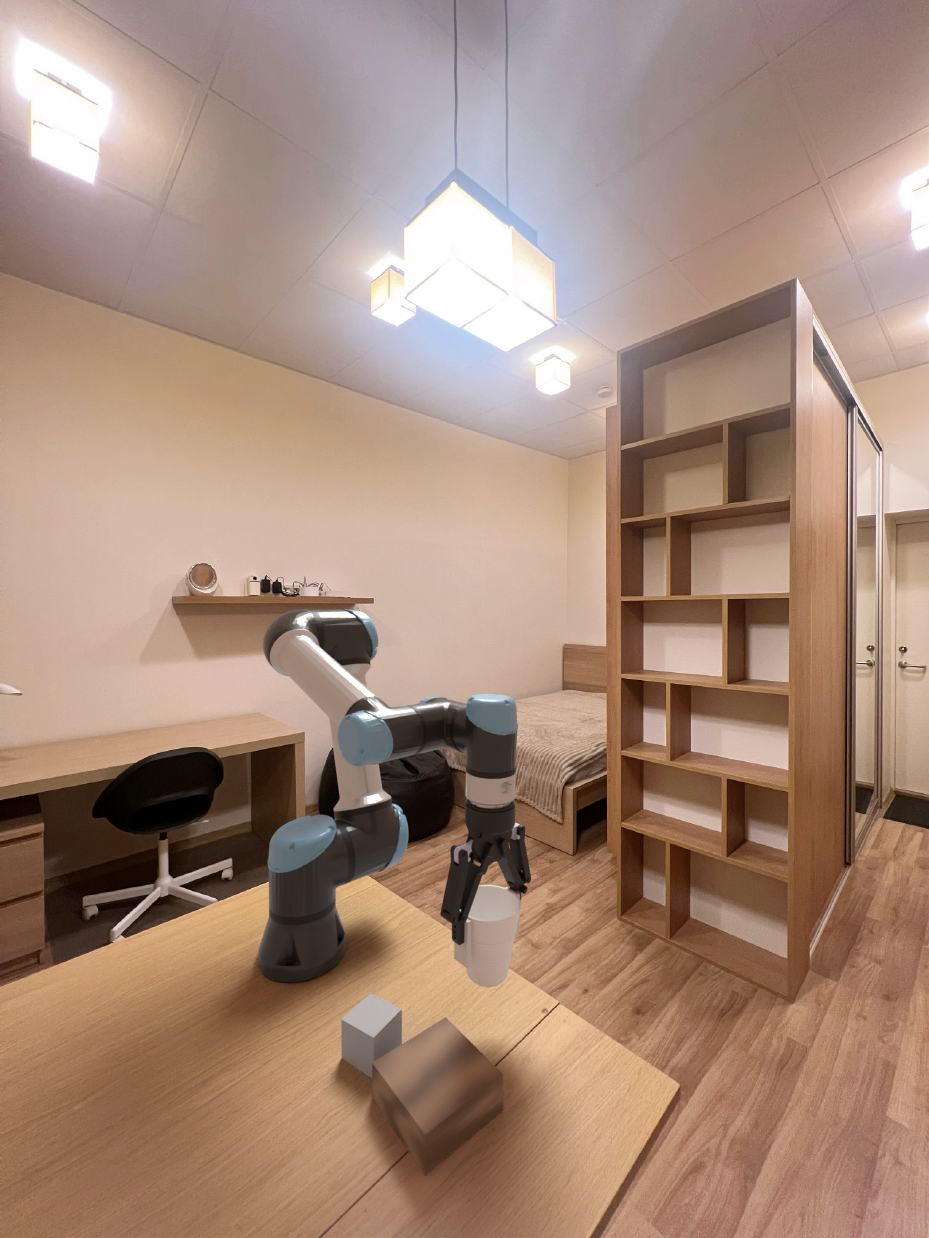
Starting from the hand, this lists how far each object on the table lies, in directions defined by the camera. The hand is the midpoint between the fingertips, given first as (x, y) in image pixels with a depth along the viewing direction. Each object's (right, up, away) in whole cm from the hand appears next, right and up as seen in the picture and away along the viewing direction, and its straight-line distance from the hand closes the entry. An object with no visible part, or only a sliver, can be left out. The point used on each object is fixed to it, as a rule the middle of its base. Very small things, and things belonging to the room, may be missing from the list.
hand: (487, 946), depth 77 cm
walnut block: (-7, -13, -11) cm, 19 cm away
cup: (0, -4, 0) cm, 4 cm away
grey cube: (-17, -13, -4) cm, 22 cm away
